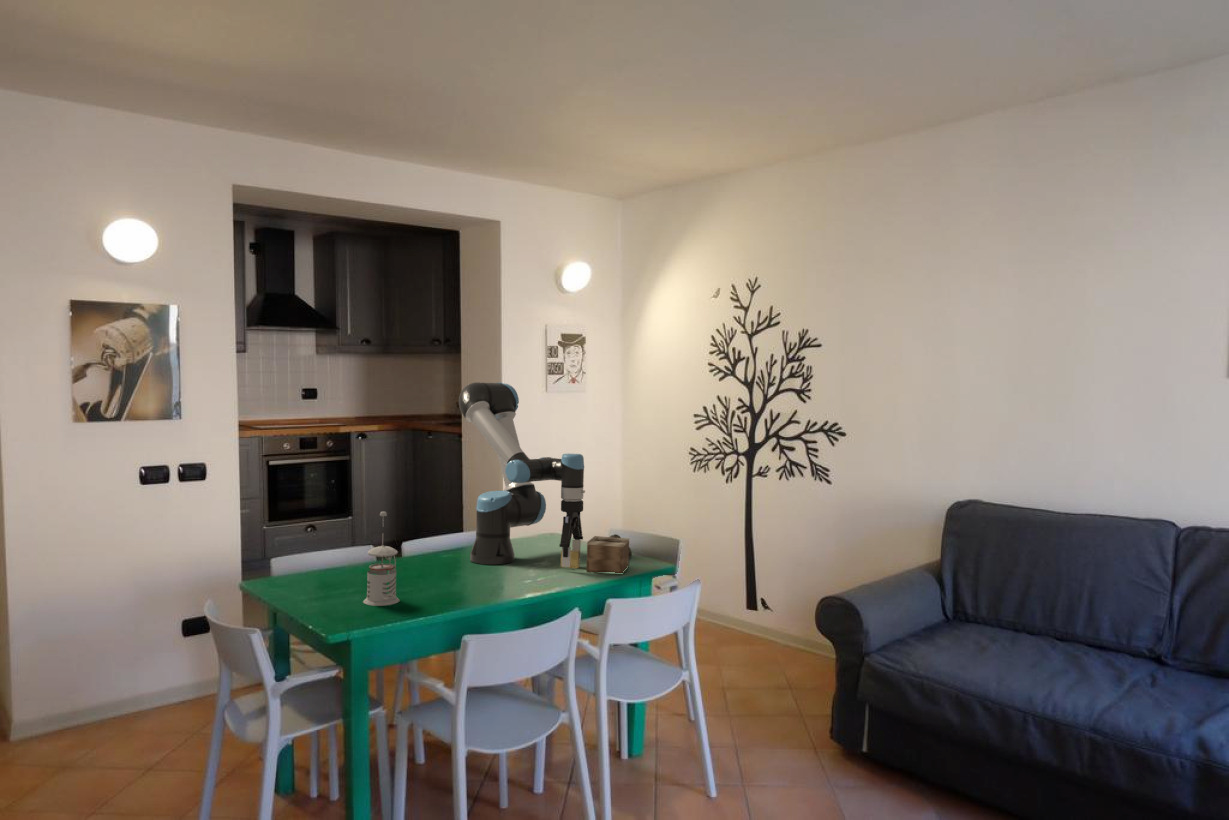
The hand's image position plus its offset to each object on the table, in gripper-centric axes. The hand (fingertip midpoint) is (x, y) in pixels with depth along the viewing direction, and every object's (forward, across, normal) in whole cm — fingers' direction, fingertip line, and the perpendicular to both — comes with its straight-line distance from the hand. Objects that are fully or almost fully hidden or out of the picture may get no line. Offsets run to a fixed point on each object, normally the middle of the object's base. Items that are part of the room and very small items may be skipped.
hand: (571, 562), depth 277 cm
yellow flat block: (+2, 0, 0) cm, 2 cm away
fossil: (+2, +20, -12) cm, 24 cm away
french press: (+2, -57, +40) cm, 69 cm away
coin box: (+2, 0, -12) cm, 13 cm away
